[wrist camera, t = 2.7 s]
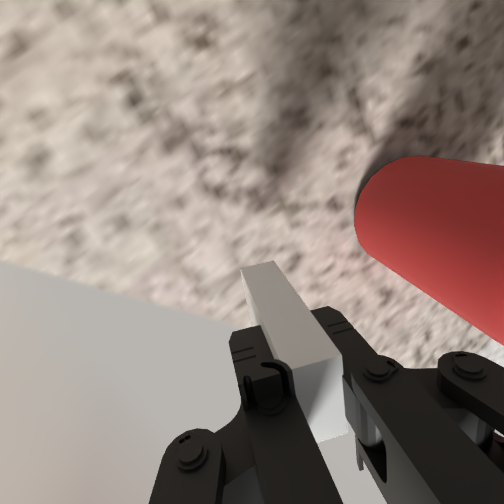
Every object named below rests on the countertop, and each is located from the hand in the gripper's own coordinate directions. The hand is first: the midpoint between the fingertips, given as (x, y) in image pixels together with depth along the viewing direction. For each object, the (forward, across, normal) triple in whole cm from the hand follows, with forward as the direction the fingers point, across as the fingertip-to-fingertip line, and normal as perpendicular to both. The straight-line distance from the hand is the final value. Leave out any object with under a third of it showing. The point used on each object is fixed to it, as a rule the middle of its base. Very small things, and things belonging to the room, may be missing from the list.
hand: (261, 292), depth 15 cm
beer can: (+6, +10, 0) cm, 12 cm away
